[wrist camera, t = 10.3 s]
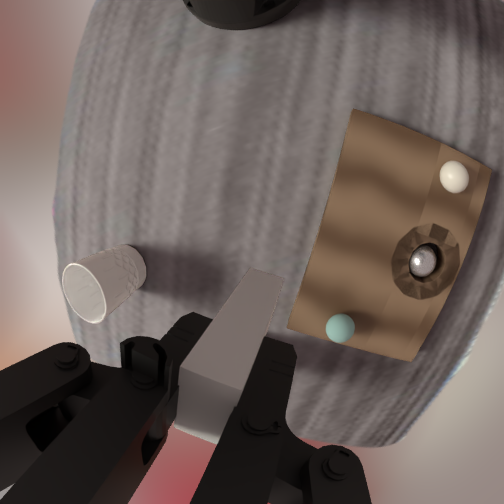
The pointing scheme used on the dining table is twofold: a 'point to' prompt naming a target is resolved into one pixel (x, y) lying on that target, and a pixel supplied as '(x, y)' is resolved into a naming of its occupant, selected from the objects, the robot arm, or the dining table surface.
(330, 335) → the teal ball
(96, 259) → the white cup
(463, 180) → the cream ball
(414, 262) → the steel ball
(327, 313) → the board
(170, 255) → the dining table surface
